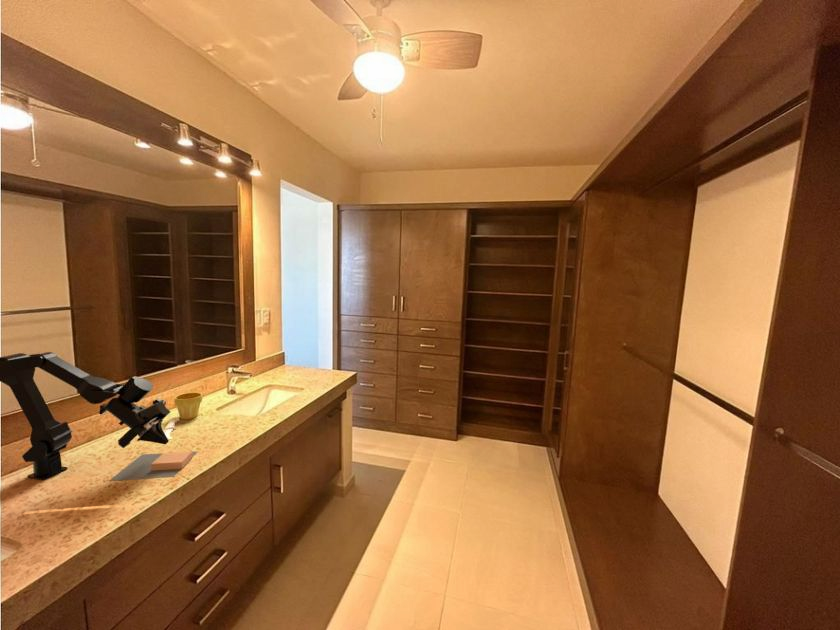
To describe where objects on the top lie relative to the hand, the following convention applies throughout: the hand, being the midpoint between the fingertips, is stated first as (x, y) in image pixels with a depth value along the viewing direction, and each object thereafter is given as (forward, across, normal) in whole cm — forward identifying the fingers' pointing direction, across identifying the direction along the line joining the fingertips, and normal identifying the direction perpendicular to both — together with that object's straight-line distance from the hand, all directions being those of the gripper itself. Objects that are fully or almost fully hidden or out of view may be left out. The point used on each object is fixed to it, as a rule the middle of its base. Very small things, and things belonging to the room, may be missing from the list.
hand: (167, 442), depth 113 cm
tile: (+2, 0, +7) cm, 7 cm away
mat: (+3, 0, +8) cm, 9 cm away
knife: (-2, +25, +14) cm, 29 cm away
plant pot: (-4, +43, +15) cm, 46 cm away
